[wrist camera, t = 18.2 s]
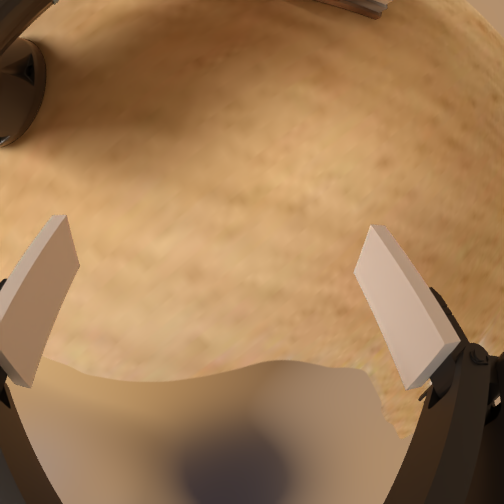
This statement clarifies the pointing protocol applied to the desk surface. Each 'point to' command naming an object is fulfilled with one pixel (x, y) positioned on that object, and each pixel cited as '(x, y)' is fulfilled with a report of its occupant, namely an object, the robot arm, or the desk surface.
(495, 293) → the desk surface
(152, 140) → the desk surface
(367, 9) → the book stand
